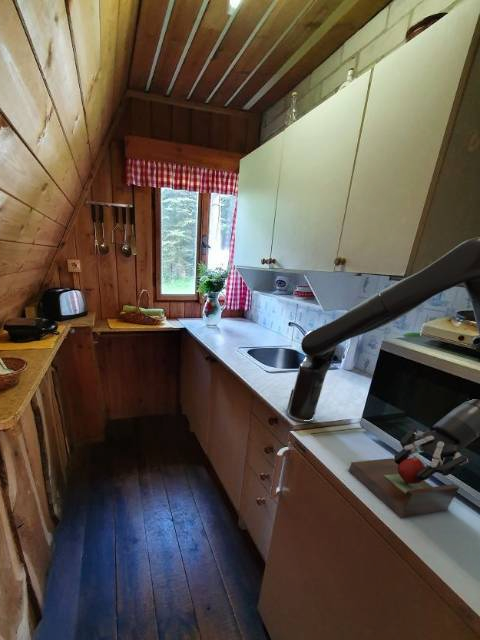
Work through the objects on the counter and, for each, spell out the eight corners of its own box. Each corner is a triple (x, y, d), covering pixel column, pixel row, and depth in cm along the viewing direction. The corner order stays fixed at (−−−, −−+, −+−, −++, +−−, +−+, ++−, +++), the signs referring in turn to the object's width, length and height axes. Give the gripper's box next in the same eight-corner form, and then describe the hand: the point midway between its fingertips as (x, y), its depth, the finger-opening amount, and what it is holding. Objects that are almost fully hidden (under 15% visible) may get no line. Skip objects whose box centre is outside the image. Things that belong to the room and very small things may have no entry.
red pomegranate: (411, 476, 81) (423, 451, 78) (425, 492, 75) (438, 465, 72) (389, 473, 81) (399, 448, 78) (400, 488, 76) (412, 462, 73)
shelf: (348, 470, 86) (355, 450, 83) (389, 466, 90) (398, 446, 88) (400, 517, 71) (412, 494, 68) (447, 509, 75) (459, 487, 73)
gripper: (429, 403, 80) (378, 445, 81) (492, 432, 67) (430, 481, 68) (436, 420, 83) (387, 460, 84) (496, 451, 70) (438, 497, 71)
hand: (406, 469), depth 76 cm, fingers closed on red pomegranate, 5 cm apart
